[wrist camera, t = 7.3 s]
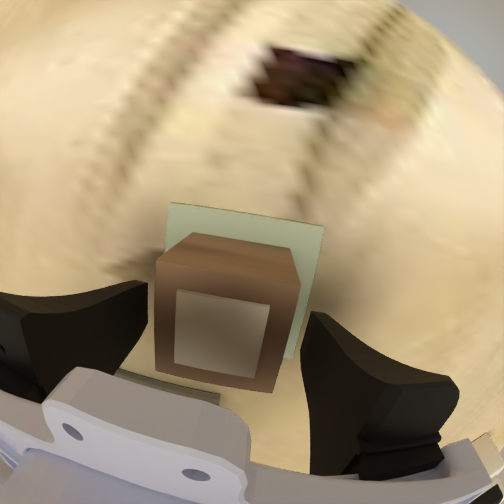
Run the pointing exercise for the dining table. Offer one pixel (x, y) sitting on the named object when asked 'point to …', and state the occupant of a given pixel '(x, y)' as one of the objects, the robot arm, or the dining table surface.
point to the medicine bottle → (490, 470)
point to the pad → (254, 230)
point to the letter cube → (224, 310)
